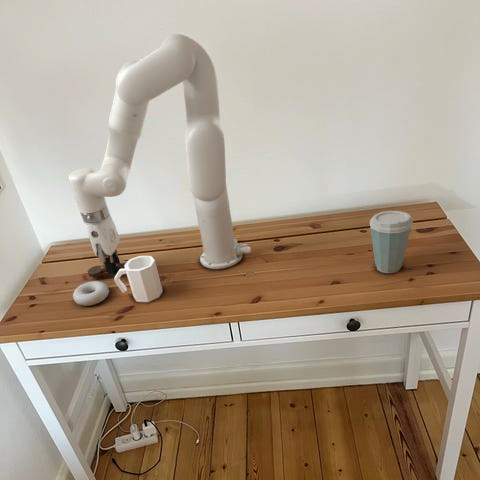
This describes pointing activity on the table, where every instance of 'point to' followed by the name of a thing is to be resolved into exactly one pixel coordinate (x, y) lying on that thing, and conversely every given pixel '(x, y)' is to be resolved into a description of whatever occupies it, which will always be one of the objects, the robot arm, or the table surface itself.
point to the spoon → (103, 269)
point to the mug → (141, 278)
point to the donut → (90, 293)
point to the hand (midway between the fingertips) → (114, 270)
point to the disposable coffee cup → (390, 239)
